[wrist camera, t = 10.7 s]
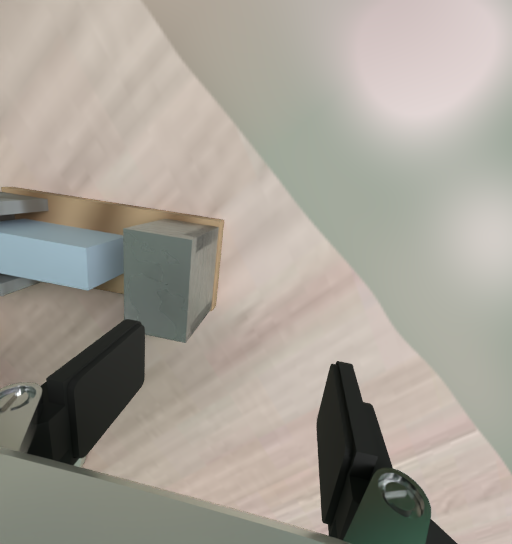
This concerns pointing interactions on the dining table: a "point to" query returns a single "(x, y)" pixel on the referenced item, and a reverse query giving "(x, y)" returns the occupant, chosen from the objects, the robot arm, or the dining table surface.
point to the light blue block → (59, 253)
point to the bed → (88, 224)
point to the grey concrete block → (169, 276)
